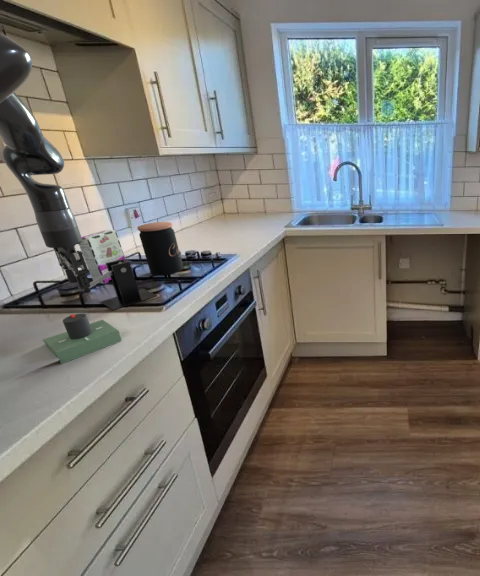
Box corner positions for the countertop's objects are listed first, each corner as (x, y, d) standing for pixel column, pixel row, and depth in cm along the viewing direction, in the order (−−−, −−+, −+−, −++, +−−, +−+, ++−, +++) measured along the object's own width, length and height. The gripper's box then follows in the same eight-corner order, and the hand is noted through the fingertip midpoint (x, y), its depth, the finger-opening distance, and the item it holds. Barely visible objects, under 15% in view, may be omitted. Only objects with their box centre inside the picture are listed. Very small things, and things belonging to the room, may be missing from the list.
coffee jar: (180, 276, 130) (167, 227, 123) (147, 279, 128) (132, 229, 121) (187, 266, 140) (175, 220, 133) (156, 269, 137) (143, 223, 130)
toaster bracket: (114, 313, 103) (99, 271, 98) (101, 305, 109) (86, 265, 104) (158, 298, 112) (147, 259, 107) (144, 291, 117) (132, 254, 112)
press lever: (87, 295, 99) (81, 288, 98) (81, 291, 102) (75, 285, 100) (130, 270, 106) (124, 263, 105) (123, 267, 109) (118, 260, 107)
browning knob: (95, 333, 86) (88, 315, 85) (72, 341, 83) (65, 322, 81) (89, 328, 89) (82, 310, 87) (67, 335, 86) (59, 317, 84)
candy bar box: (119, 272, 135) (104, 229, 129) (130, 273, 135) (116, 229, 128) (92, 283, 125) (75, 237, 119) (104, 284, 124) (88, 238, 118)
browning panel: (61, 364, 80) (55, 352, 79) (47, 350, 86) (42, 338, 84) (121, 340, 89) (117, 329, 88) (106, 329, 94) (102, 318, 93)
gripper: (86, 227, 92) (105, 286, 99) (67, 221, 100) (86, 275, 106) (48, 233, 87) (72, 295, 93) (31, 226, 94) (54, 283, 101)
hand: (79, 284), depth 100 cm, fingers open, 8 cm apart
